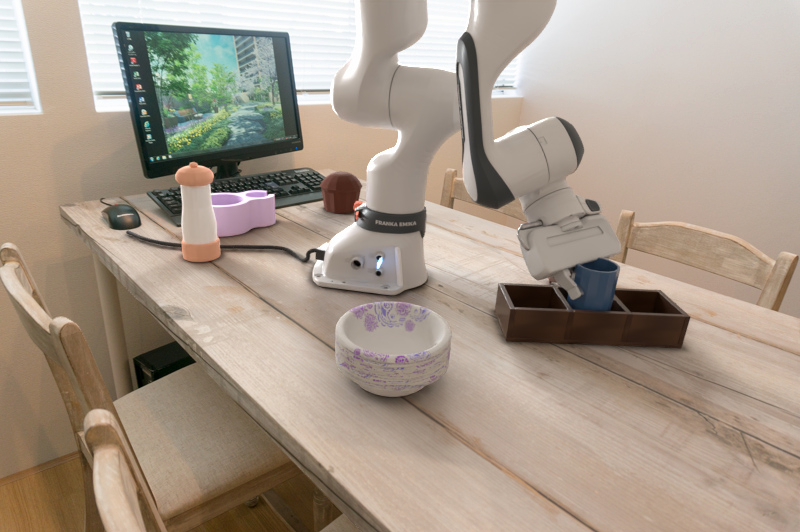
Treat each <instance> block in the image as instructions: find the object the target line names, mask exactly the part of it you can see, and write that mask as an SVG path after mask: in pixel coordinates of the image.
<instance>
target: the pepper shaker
mask: <svg viewBox="0 0 800 532" xmlns="http://www.w3.org/2000/svg"><path fill="white" fill-rule="evenodd" d="M174 175H175V176H174V178H175V181H176V183H177V184H178V185H180V194H181V220H180V221H181V222H180V225H181V234H182V239H181V244H182V248H181V251H182V253H181V254H182V258H183V260H185V261H188V262H192V263H206V262H210V261H211V262H212V261H215V260H216V259H218V258H220V257H221V249H220V245H221V241H220V238H219V237H217V222H216V218H215V214H214V210H213V206H212V199H211V193H212V189H211V184H212V183H213V181H214V178H215V175H214V172H213V171H212V169H210V168H208V167H206V166H204V165H199V163H198V162H195V161H192V162H189V164H188V165H185V166H182V167H180V168H178V169H177V171H176V172H175V174H174Z"/></svg>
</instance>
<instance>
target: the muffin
mask: <svg viewBox="0 0 800 532" xmlns="http://www.w3.org/2000/svg"><path fill="white" fill-rule="evenodd" d="M319 187H320V189H321V194H322V196H321V197H322V201H323V208H324V209H325V210H326V212H329V213H333V214H343V215H344V214H351V213H355V211H354V208H353V207H354V203H356V201H360V196H361V190H362V189H363V184H362V183H361V181H360V179H359V178H358V177H357V176H356V175H355V174H353V173H351V172H348V171H340V170H339V171H335V172H332V173H329V174H328V175H327V176H325V177H324V178H323V179H322V181H321V182H320V184H319Z"/></svg>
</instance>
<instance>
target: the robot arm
mask: <svg viewBox="0 0 800 532" xmlns="http://www.w3.org/2000/svg"><path fill="white" fill-rule="evenodd" d="M468 2H469V3H468V4H469V5H468V16H467V21H466V26H465V29H464V32H463V33H462V34H461V36H460V37H458V39H457V41H456V47H455V70H452V69H447V68H443V67H440V66H429V65H428V66H427V65H411V64H403V63H400V61H399V57H398V55H399V53H401V52H402V51H405V50H408V49H409V48H410V47H412V46H413V45H415V44H417V42H419V41H420V40H421V39H422V37H423V36H424V34H425V33H426V30H427V28H428V23H429V16H428V15H429V13H428V0H353V6H354V16H355V28H356V34H355V35H356V36H355V44H354V47H353V51H352V53H351V55H350V57H349V59H348V60H347V61H346V62H345V63H344V64H343V66H341V67H340V68H339V69H338V70H337V71H336V73H335V74H334V76H333V78H332V80H331V84H330V88H329V97H330V98H329V99H330V103H331V106H332V110H333V111H334V113H335V114H336V116H337V117H338V119H340V120H342V121H344V122H348V123H350V124H352V125H357V126H359V127H363V128H370V129H381V130H388V131H389V130H390V131H396V132H398V137H397V142H396V144H395V146H393V147H391V148H389V149H386V150H384V151H381V152H380V153H377V154H376V155H375V156H373V158H371V160H370V161H369V163H368V165H367V168H366V185H365V186H366V187H365V202H363V201H361V200H359V201H356V203H354V207H353V208H354V218H353V219H354V222H353V223H351V224H350V225H349V226H347V227H346V228H344V229H342V230H341V231H340V232H338V233H337V234H335V235H333V237H332V238H331V239H330V240H329V242H325V243H323V244H321V245H320V246H318V247H314V248H310V249H308V250H307V251H306V253H305V257H304V258H303V257H300V256H299V255H298V254H297V253H296V252H295V251H294V250H292V249H290V248H289V247H286V246H281V245H272V244H271V245H270V244H220V250H239V249H240V250H276V251H282V252H286V253H288V254H290V255H291V256H292V257H294V258H295V259H297V260H299V261H300V262H302V263H307V262H309V261H310V259H311V254H313V253H314V254H315V260H317V261H316V262H315V264H314V266H313V268H312V275H311V278H312V281H313V282H314V284H315V285H316V286H318V287H323V288H329V289H339V290H347V291H352V292H353V291H355V292H363V293H369V294H370V293H372V294H378V295H386V296H397V295H399V294H401V293H402V292H404V291H406V290H411V289H415V288H417V287H420V286H422V285H423V284H425V283H426V282H427V280H428V279H429V275H428V272H427V266H426V260H425V249H424V248H425V247H424V246H425V245H424V238H425V236H426V232H427V221H428V220H427V219H428V217H427V216H428V214H427V206H426V204H425V203H426V193H427V186H428V180H429V179H428V178H429V173H430V169H431V165H432V163H433V160H434V158H435V157H436V154H438V151H439V150H440V149H441V148H442V146H443V145H444V144H445V143H446V142H447V141H448V140H449V139H450V138H451V137H453V136H454V135H456V134H458V133H459V132H460V135H461V171H462V181H463V185H464V188H465V190H466V192H467V194H468V196H469V198H470V199H471V201H472V202H473V203H475V204H477V205H479V206H482V207H484V208H488V209H492V210H499V209H501V208H503V207H505V206H506V205H508V204H510V203H512V202H515V201H516V199H518V200H519V202H520V205H521V210H522V214H523V215H524V217H525V220H526V222H523V223H521V224H519V227H518V228H517V230H516V238H517V239H518V242H519V248H520V251H521V255H522V257H523V261H524V263H525V266H526V268H527V270H528V272H529V275H530V276H531V277H532V278H533V279H534V280H536V281H542V280H546V279H548V278H549V277H552V276H554V278H555V280H556V282H557V283H556V284H558V286H561V287H563V288H564V289H565V290H567V292H568V294H569V296H570V298H571V299H572V300H574V299H577V298H580V297H582V296H584V294H585V292H584V290H582V286H581V285H577V284H576V283H575V282H574V281H573V280H572V279H571V278H570V277H569V276H571V274H570V272H569V271H572V270H573V267H575V266H576V265H577V264H578V263H579V265H582V264H585V263H589V262H592V261H595V260H597V259H598V258H599V257H600V258H604V259H608V260H611V259H612V258H615V257H616V256H618V255H620V254H621V253H622V244H621V241H620V240H619V239H620V238H619V237H618V235H617V233H616V231H615V229H614V227H613V226H612V224H611V222H610V221H609V220H608V218H607V216H605V215H603V214H601V213H603V211H604V208H603V206H602V204H601V202H600V201H599V200H595V199H591V198H589V197H588V198H587V197H584V196H582V195H580V194H576V193H575V191H574V189H573V188H572V187H571V185H570V184H569V183H568V181H567V177H568V176H570V175H572V174H574V173H575V172H576V171H577V170H578V168H579V166H580V164H581V162H582V161H583V156H584V153H585V147H584V144H583V143H584V142H583V141H582V138H581V136H580V135H579V132H578V131H577V129H576V128H575V126H574V125H573V124H572V123H570V122H569V121H567V120H566V119H564V118H562V117H559V116H556V115H552V116H550V117H546V118H542V119H540V120H538V121H536V122H533V123H531V124H524V125H520V126H517V127H515V128H513V129H511V130H509V131H508V132H506V133H505V134H504V135H503V136H500V137H498V138H496V139H494V123H493V120H494V119H493V106H492V105H493V104H492V94H493V90H494V87H495V84H496V82H497V81H498V79H499V77H500V76H501V74H502V73H503V71H504V70H505V69H506V68H507V67H508V65H510V64H511V62H512V61H514V59H515V58H516V57H518V56H519V55H520V54H521V53H522V52H524V50H526V49H527V48H528V47H529V46H530V45H532V43H534V42H535V41H536V39H537V38H538V37H539V36H540V35H541V34H542V33H543V31H544V30H545V28H546V27H547V25H548V24H549V22H550V21H551V19H552V16H553V15H554V12H555V10H556V7H557V4H558V3H557V2H558V0H468ZM125 233H126V234H127V235H128V236H131V237H134V238H136V239H138V240H140V241H142V242H143V241H144V242H147V243H150V244H154V245H158V246H159V245H160V246H166V247H173V248H181V249H182V243H179V242H171V241H164V240H158V239H153V238H149V237H146V236H143V235H141V234H137V233H135V232H134V231H131V230H126V231H125Z"/></svg>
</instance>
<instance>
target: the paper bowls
mask: <svg viewBox="0 0 800 532" xmlns="http://www.w3.org/2000/svg"><path fill="white" fill-rule="evenodd" d="M334 332H335V333H334V336H335V337H334V339H335V342H334V346H335V349H334V358H335V364H336V367H337V369H338V371H339V372H340V373H341V374H342V375H343V376H344V377H345V378H346V379H348V380H351V381H353V382H354V383H356V384H357V385H358V386H359V387H361V388H362V389H363V390H365V391H366V392H369V393H371V394H374V395H376V396H381V397H387V398H388V397H389V398H397V397H399V398H400V397H406V396H409V395H412V394H415V393H417V392H418V391H421V390H422V389H423V388H424V387H427V386H429V385H432V384H433V383H436V382H437V381H438V380H440V379H441V378H442V377H443V376H444V374H445V373H446V372H447V370H448V367H449V364H450V357H451V350H452V349H451V348H452V338H453V337H452V330H451V327H450V325H449V322H447V320H446V319H445V318H444V317H443V316H441V315H440V314H439V313H437V312H436V311H434V310H432V309H429V308H428V307H425V306H421V305H418V304H415V303H410V302H404V301H391V300H390V301H389V300H388V301H387V300H385V301H375V302H369V303H365V304H361V305H357V306H355V307H353V308H351V309H349V310H348V311H346V312H345V313H344V314H343V315H341V317H340V318H339V319H338V321H337V323H336V325H335V331H334Z"/></svg>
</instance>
